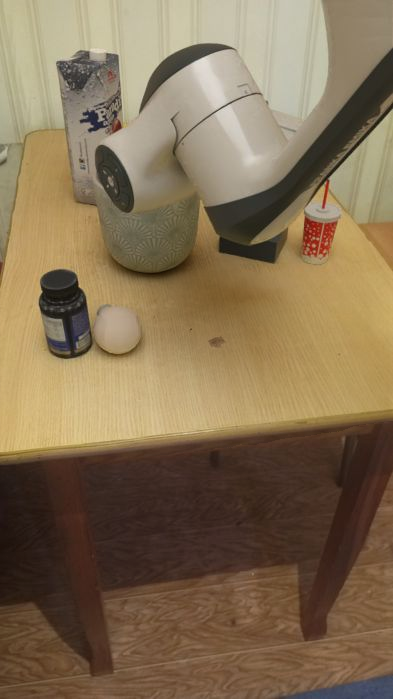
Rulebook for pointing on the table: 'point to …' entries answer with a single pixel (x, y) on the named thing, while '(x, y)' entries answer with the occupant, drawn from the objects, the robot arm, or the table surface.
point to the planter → (148, 232)
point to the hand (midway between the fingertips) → (292, 114)
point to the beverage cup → (319, 229)
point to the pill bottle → (64, 314)
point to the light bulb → (117, 329)
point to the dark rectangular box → (256, 248)
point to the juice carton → (89, 111)
